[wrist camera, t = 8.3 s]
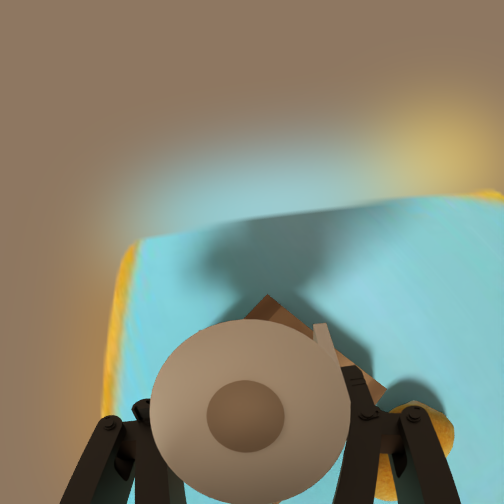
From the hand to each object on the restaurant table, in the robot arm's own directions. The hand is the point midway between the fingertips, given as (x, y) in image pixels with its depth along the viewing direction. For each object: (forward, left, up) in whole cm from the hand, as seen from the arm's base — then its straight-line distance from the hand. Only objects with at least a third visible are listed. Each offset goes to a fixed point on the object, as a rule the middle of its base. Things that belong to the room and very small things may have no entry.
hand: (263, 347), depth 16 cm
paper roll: (-3, +3, -3) cm, 5 cm away
